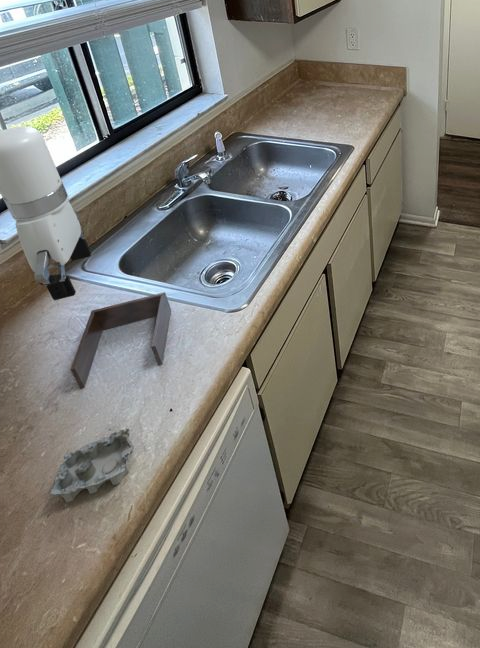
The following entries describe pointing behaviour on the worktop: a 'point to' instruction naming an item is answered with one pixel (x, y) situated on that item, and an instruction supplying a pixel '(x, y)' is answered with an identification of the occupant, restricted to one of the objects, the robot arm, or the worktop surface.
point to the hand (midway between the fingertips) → (73, 276)
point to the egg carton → (94, 465)
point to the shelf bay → (118, 317)
